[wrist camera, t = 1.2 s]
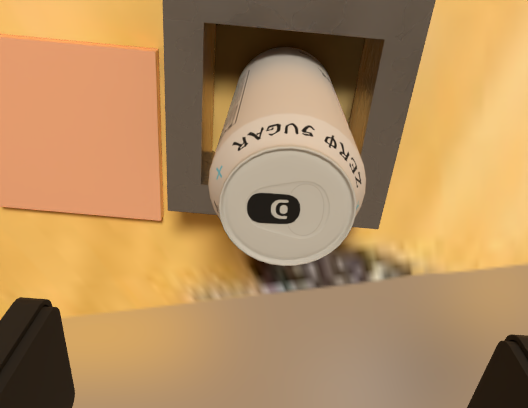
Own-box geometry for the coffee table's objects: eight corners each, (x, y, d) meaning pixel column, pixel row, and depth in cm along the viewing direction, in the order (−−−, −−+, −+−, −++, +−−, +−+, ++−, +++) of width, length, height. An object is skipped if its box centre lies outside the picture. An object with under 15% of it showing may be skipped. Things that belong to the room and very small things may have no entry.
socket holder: (409, -9, 26) (435, -1, 21) (364, 191, 32) (378, 229, 28) (182, -31, 25) (162, -27, 21) (183, 175, 32) (167, 210, 27)
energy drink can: (325, 139, 30) (360, 283, 17) (236, 134, 30) (203, 274, 17) (336, 46, 27) (389, 134, 14) (238, 41, 27) (199, 123, 14)
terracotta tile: (158, 48, 28) (155, 51, 27) (163, 215, 34) (160, 220, 33) (-38, 30, 27) (-46, 32, 27) (2, 200, 33) (-4, 206, 33)
